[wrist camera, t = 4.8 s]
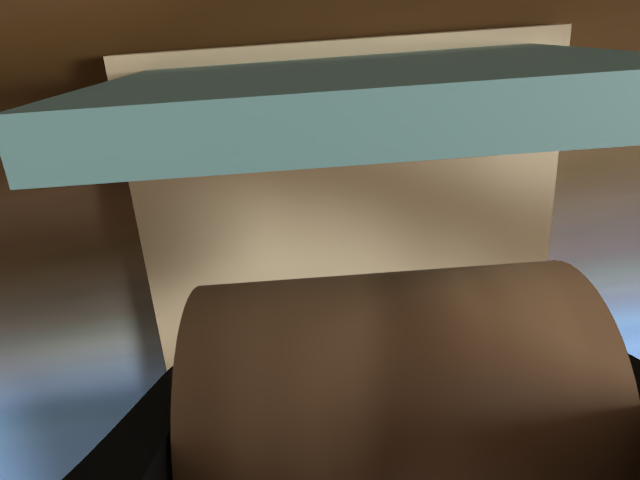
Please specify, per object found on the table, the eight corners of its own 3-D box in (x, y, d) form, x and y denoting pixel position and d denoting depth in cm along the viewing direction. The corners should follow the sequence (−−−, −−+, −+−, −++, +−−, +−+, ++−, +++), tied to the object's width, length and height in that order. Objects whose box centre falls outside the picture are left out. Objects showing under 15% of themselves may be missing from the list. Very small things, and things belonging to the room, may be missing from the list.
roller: (517, 432, 11) (635, 609, 7) (236, 452, 11) (196, 641, 7) (519, 236, 10) (655, 310, 6) (214, 258, 10) (152, 346, 6)
